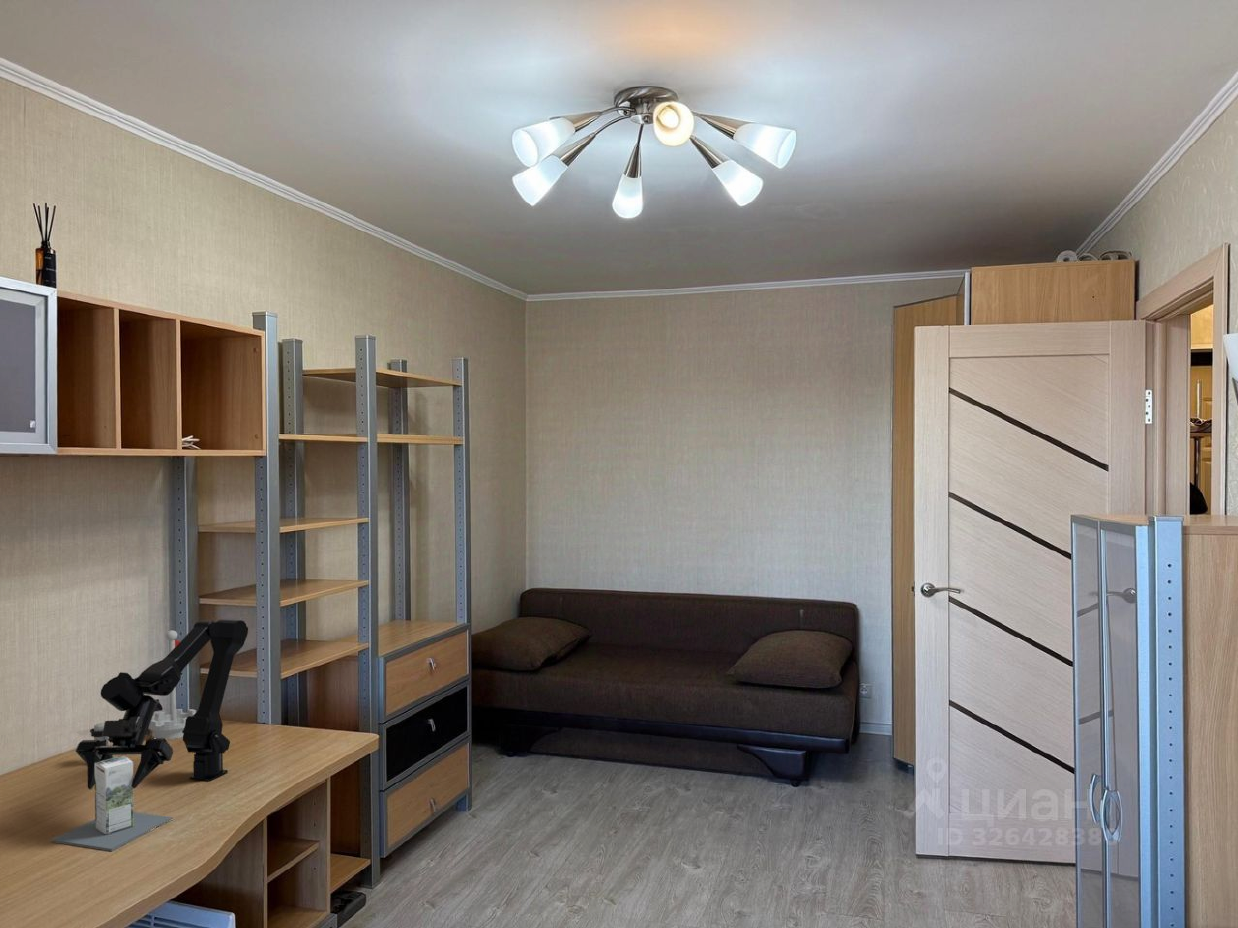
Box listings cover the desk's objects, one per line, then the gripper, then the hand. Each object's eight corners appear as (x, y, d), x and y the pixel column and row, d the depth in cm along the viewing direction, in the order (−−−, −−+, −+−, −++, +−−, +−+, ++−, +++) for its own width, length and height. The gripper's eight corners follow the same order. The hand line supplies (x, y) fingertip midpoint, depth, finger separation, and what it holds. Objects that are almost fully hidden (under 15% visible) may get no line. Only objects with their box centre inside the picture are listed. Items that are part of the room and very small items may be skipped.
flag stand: (153, 744, 247) (151, 637, 247) (143, 733, 257) (141, 630, 257) (203, 734, 255) (201, 630, 255) (192, 723, 265) (190, 624, 265)
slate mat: (116, 811, 200) (115, 809, 200) (172, 819, 195) (172, 817, 195) (51, 841, 185) (51, 839, 185) (111, 851, 180) (111, 848, 180)
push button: (81, 767, 229) (80, 728, 229) (90, 760, 234) (89, 722, 234) (109, 765, 230) (108, 727, 230) (117, 758, 235) (116, 721, 235)
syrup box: (123, 819, 194) (121, 754, 194) (134, 826, 191) (133, 759, 190) (94, 828, 190) (93, 761, 190) (106, 835, 186) (104, 767, 186)
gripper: (79, 703, 194) (49, 772, 183) (165, 702, 195) (141, 770, 184) (100, 728, 202) (73, 795, 191) (183, 726, 203) (160, 793, 192)
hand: (111, 787), depth 189 cm, fingers open, 9 cm apart
